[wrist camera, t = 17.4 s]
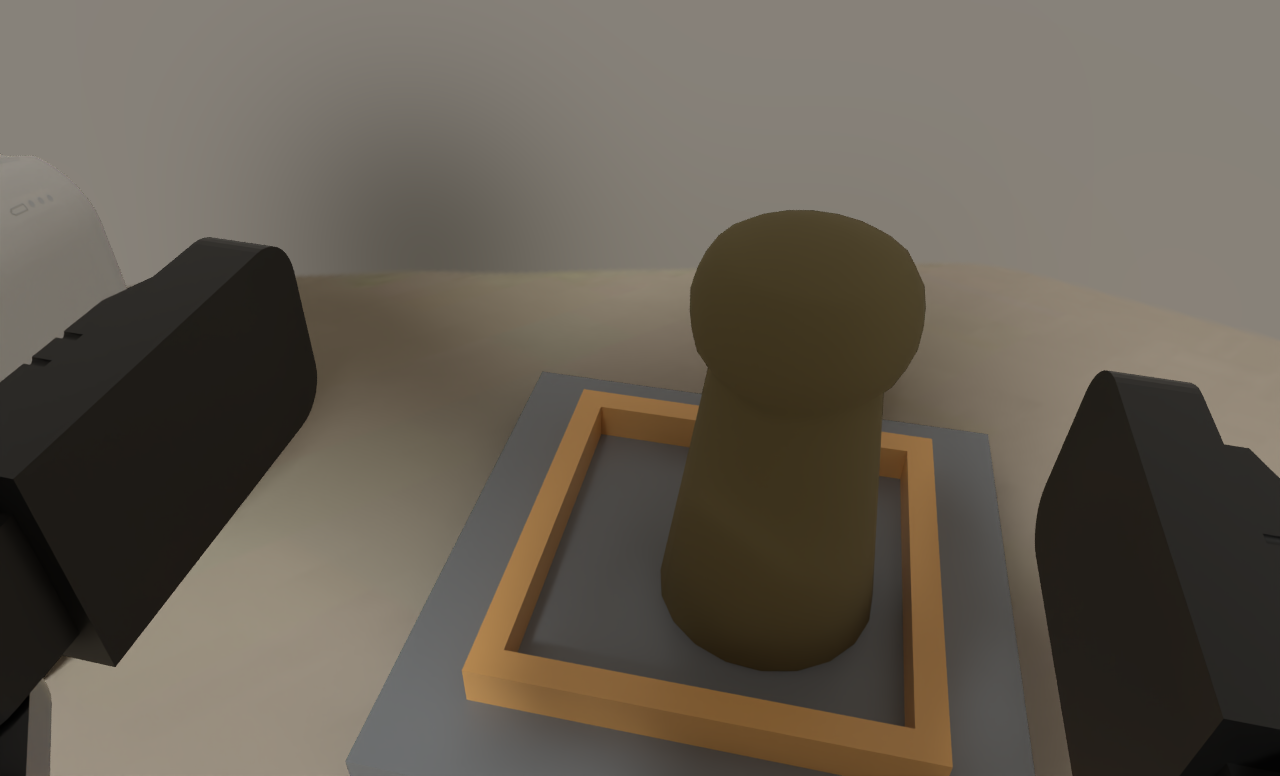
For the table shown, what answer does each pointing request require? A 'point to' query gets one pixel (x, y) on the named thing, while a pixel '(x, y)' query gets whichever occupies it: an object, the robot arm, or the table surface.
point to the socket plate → (663, 654)
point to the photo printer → (47, 258)
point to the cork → (788, 436)
